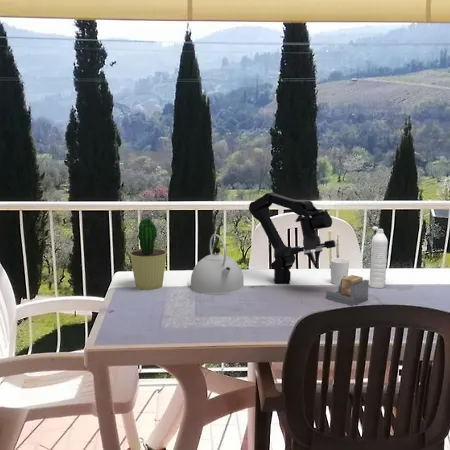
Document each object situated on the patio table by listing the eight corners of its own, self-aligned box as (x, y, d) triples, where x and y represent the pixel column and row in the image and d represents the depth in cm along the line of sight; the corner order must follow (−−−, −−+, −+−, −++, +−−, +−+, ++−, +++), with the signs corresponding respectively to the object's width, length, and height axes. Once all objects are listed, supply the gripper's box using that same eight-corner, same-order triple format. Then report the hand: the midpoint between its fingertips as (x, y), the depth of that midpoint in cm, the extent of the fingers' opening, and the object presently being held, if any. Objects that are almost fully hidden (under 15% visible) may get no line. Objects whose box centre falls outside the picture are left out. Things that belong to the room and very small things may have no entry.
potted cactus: (165, 291, 227) (163, 220, 221) (127, 291, 227) (125, 219, 222) (169, 281, 242) (168, 213, 236) (134, 280, 242) (132, 213, 237)
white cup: (343, 286, 235) (344, 263, 233) (326, 283, 240) (327, 260, 238) (351, 282, 241) (352, 260, 239) (334, 279, 246) (335, 257, 244)
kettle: (254, 292, 227) (255, 239, 222) (202, 299, 218) (202, 243, 214) (231, 276, 249) (232, 227, 245) (183, 281, 241) (183, 231, 237)
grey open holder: (325, 298, 219) (326, 279, 218) (339, 292, 227) (340, 273, 225) (353, 305, 211) (354, 285, 209) (367, 299, 218) (368, 280, 216)
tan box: (338, 297, 217) (339, 277, 216) (348, 293, 222) (349, 274, 220) (352, 300, 213) (353, 280, 211) (361, 296, 218) (362, 277, 216)
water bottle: (387, 287, 234) (391, 229, 229) (374, 288, 232) (377, 230, 227) (377, 281, 242) (380, 226, 237) (363, 283, 240) (366, 226, 235)
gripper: (283, 236, 222) (291, 274, 222) (329, 227, 217) (337, 266, 217) (288, 234, 233) (295, 271, 232) (332, 226, 228) (339, 263, 227)
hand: (316, 268), depth 227 cm, fingers closed
